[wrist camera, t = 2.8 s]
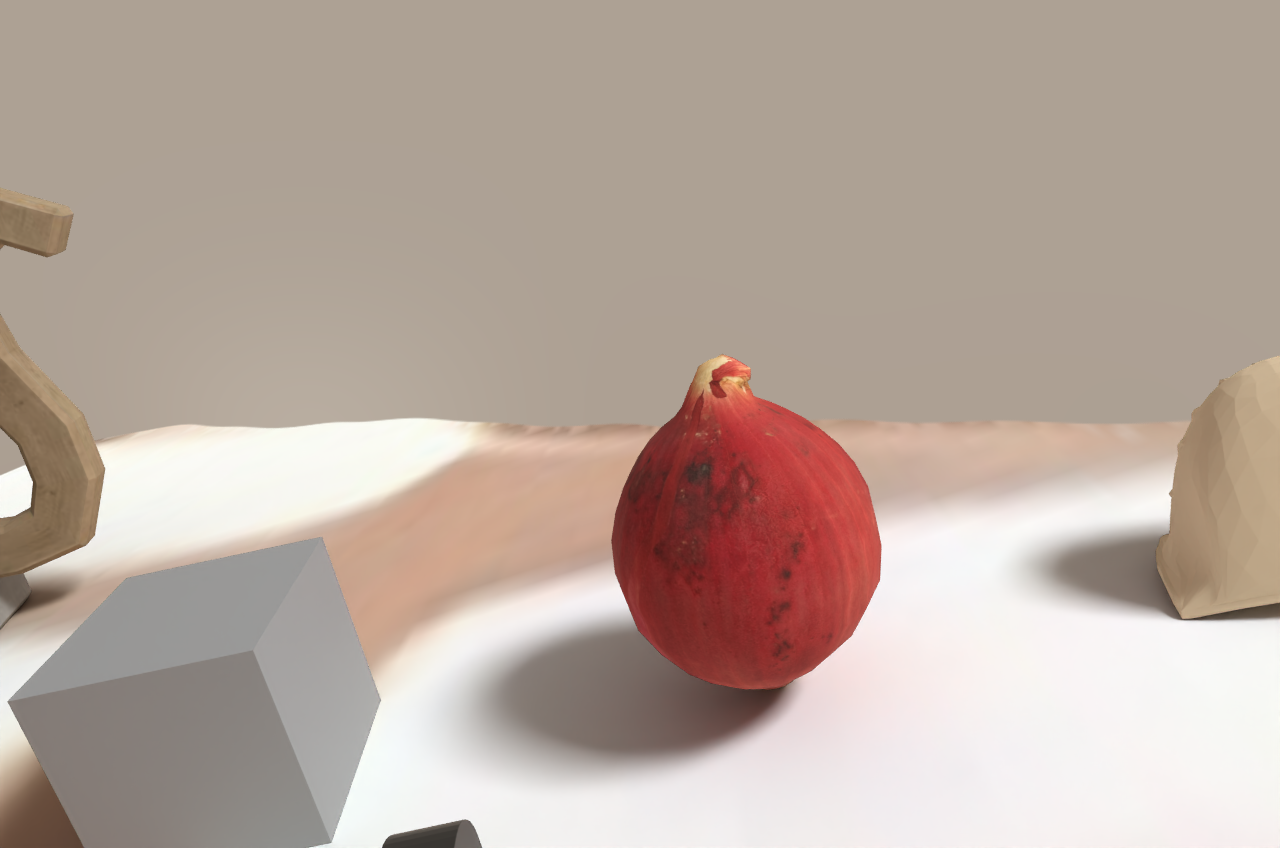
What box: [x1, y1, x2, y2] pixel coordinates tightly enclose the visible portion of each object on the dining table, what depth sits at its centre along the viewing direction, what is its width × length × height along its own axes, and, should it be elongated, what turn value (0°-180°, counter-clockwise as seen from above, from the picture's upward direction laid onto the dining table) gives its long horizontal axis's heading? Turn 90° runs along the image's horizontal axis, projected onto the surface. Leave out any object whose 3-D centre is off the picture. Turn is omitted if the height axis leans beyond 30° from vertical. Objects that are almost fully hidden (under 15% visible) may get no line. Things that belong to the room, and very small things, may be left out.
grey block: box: [8, 537, 381, 848], centre depth 22 cm, size 5×5×5 cm
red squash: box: [611, 354, 881, 690], centre depth 20 cm, size 6×6×8 cm
